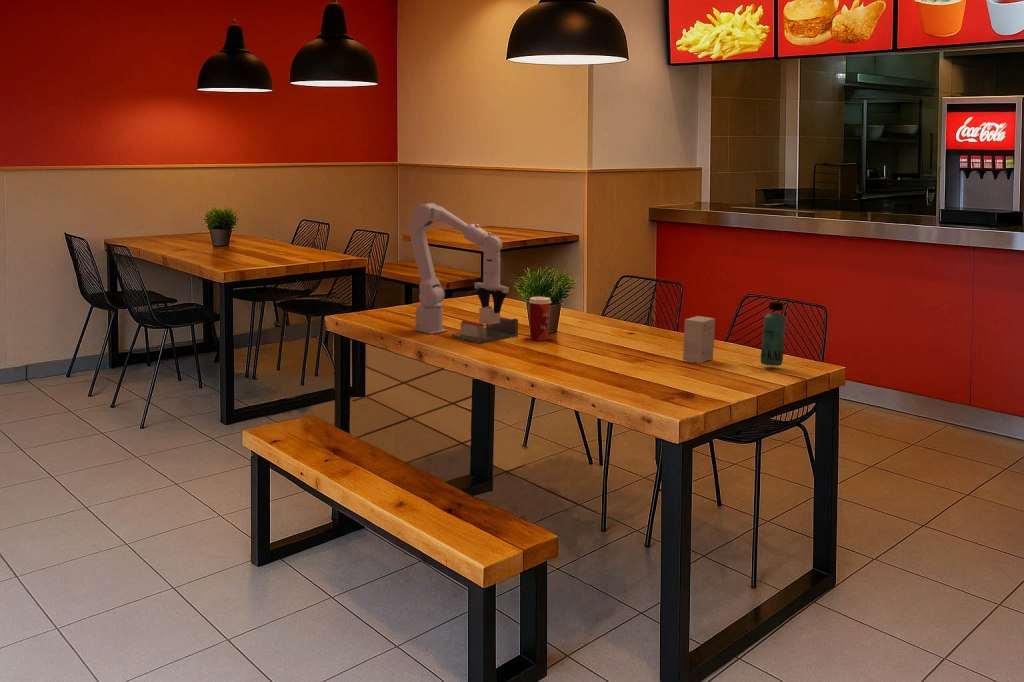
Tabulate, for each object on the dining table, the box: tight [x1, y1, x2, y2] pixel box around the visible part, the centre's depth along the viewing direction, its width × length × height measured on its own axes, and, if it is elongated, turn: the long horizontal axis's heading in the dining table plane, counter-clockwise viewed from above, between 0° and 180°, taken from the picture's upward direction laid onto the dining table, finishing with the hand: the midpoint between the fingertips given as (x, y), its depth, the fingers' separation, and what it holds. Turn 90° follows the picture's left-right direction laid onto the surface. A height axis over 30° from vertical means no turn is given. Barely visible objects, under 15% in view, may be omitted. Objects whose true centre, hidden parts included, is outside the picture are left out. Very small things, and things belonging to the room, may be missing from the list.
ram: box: [460, 319, 485, 338], centre depth 309 cm, size 9×3×5 cm, turn 47°
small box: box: [682, 315, 716, 364], centre depth 283 cm, size 8×6×13 cm
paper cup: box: [528, 296, 552, 342], centre depth 310 cm, size 8×8×14 cm
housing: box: [478, 305, 501, 325], centre depth 314 cm, size 5×5×6 cm
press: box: [450, 316, 519, 344], centre depth 313 cm, size 14×18×6 cm
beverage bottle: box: [759, 301, 787, 367], centre depth 273 cm, size 6×7×20 cm
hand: (491, 311), depth 314 cm, fingers closed on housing, 5 cm apart
